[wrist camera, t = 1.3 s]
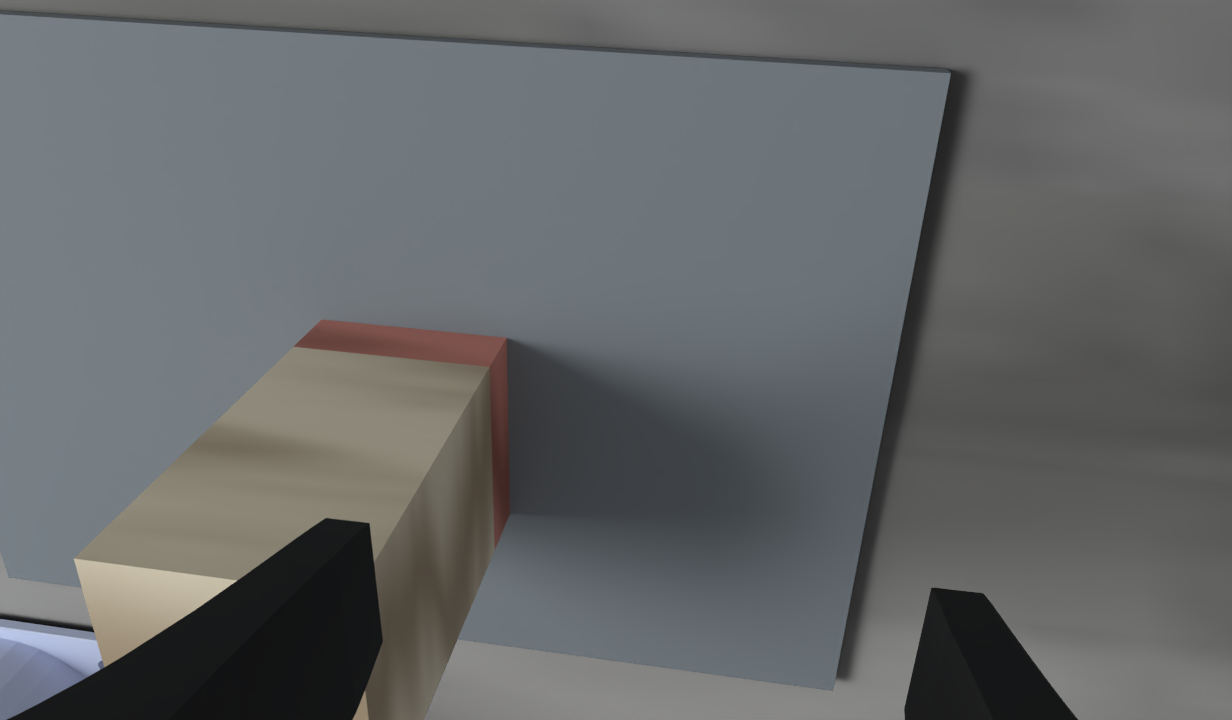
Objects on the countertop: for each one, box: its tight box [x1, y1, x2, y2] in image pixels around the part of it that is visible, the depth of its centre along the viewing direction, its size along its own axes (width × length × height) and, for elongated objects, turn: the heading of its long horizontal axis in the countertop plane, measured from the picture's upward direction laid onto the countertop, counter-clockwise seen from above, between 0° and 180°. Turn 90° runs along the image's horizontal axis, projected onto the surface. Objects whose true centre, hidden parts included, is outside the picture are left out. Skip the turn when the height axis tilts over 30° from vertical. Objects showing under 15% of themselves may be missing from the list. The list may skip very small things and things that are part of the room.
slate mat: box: [0, 11, 951, 691], centre depth 23 cm, size 16×24×1 cm, turn 88°
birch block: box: [74, 320, 510, 720], centre depth 19 cm, size 5×4×9 cm
